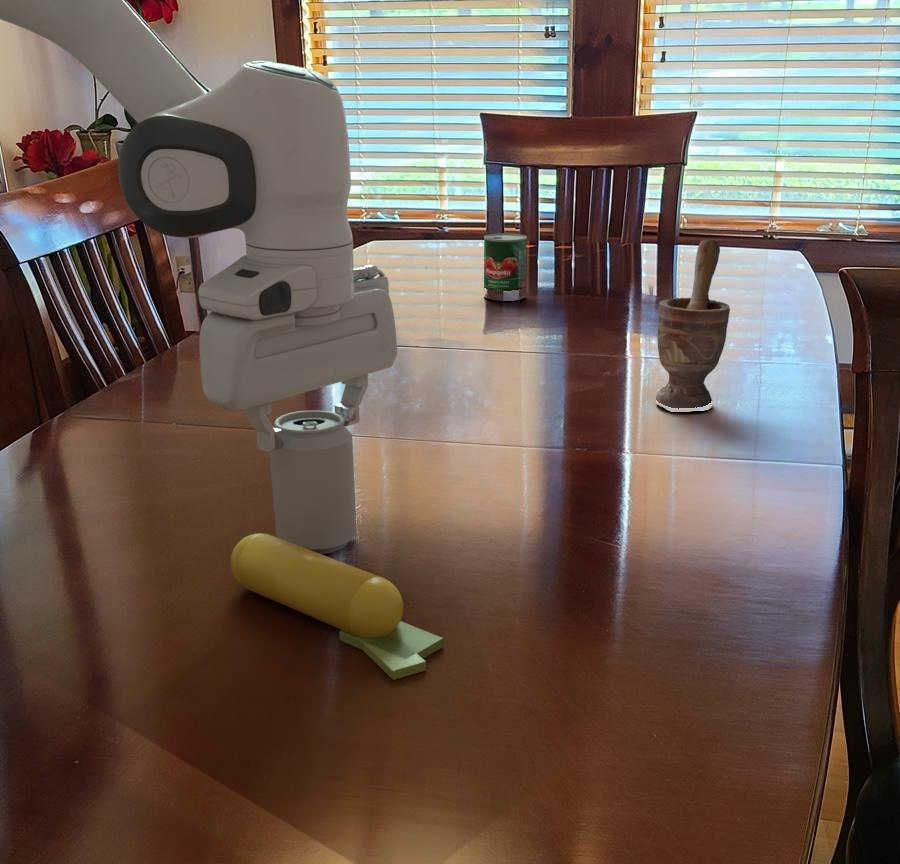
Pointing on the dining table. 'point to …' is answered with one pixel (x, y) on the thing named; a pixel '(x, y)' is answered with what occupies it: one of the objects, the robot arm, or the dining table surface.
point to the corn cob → (336, 600)
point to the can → (314, 481)
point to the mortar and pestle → (692, 335)
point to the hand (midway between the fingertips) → (310, 436)
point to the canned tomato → (504, 262)
